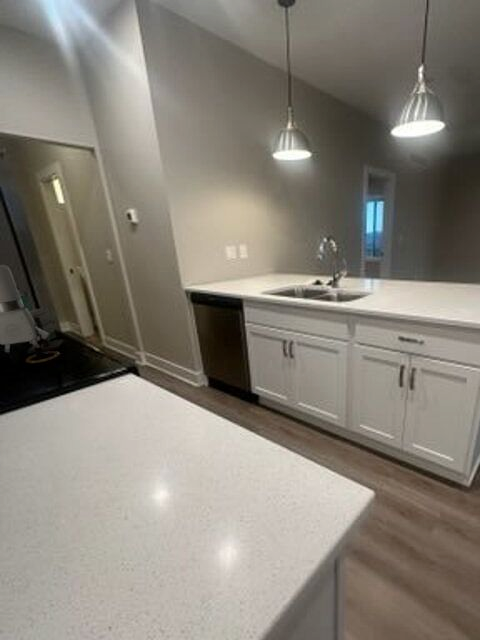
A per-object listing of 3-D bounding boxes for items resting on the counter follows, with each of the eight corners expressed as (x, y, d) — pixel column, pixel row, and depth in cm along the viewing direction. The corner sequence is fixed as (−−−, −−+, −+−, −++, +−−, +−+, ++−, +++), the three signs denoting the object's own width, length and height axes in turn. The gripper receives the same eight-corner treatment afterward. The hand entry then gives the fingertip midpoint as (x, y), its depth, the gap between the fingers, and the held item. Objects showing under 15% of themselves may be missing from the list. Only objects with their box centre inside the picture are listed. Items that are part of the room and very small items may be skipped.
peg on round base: (28, 355, 119) (15, 323, 114) (36, 347, 127) (25, 316, 122) (58, 350, 122) (47, 319, 117) (64, 342, 129) (54, 313, 125)
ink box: (45, 337, 137) (35, 308, 133) (57, 336, 137) (47, 307, 133) (29, 344, 129) (17, 314, 125) (41, 344, 129) (30, 313, 125)
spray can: (37, 332, 145) (20, 284, 137) (42, 334, 142) (25, 285, 134) (22, 336, 141) (3, 287, 133) (27, 338, 138) (8, 288, 130)
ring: (22, 366, 109) (20, 363, 108) (31, 356, 117) (30, 353, 116) (56, 361, 112) (55, 357, 111) (63, 352, 120) (62, 348, 119)
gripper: (-33, 313, 100) (-8, 369, 107) (37, 305, 105) (56, 359, 112) (-21, 307, 106) (1, 361, 113) (44, 300, 112) (61, 351, 119)
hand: (28, 359), depth 113 cm, fingers open, 6 cm apart
